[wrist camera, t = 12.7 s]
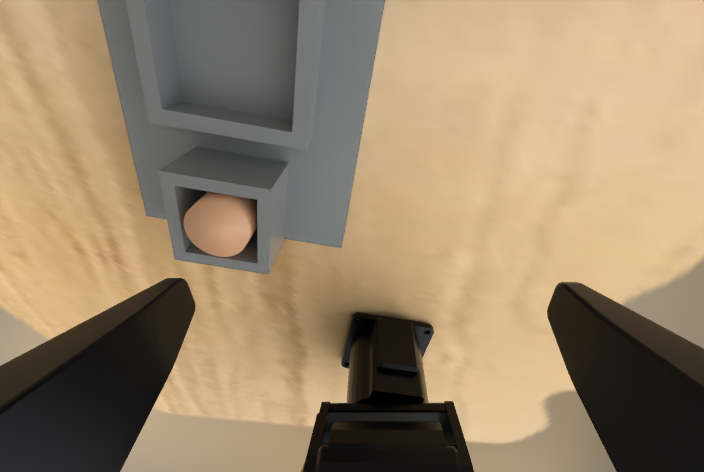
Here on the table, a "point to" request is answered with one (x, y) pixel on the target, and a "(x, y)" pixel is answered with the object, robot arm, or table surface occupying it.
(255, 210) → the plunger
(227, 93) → the housing
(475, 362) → the table surface
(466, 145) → the table surface
